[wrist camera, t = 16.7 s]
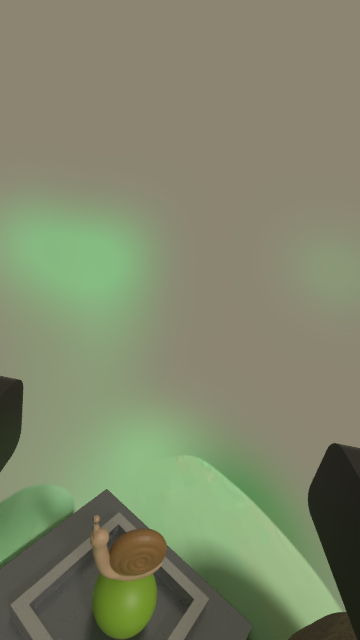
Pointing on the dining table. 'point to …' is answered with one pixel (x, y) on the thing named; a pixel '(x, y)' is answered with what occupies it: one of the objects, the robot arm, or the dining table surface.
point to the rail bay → (79, 579)
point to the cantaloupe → (327, 629)
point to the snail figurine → (125, 579)
